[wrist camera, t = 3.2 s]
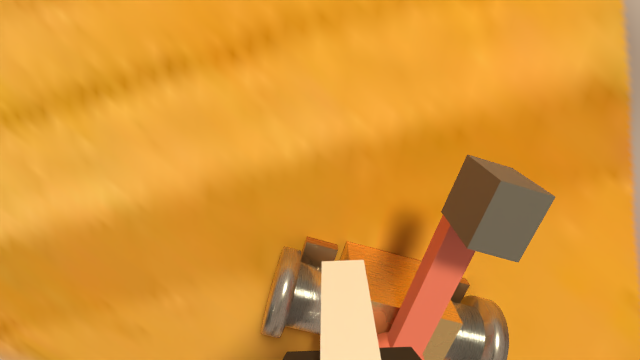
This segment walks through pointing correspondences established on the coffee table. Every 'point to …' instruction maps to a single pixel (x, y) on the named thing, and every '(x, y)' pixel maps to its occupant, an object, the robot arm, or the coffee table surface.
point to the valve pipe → (382, 301)
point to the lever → (468, 243)
